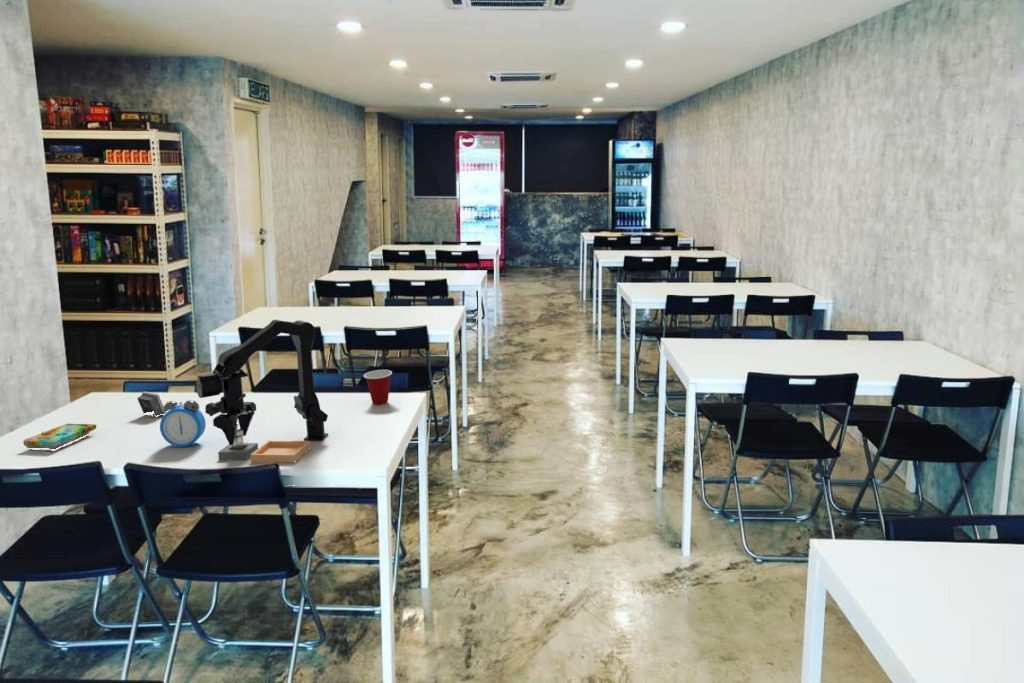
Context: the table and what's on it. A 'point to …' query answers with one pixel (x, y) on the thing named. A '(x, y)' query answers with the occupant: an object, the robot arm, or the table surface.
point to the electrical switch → (151, 403)
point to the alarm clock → (182, 423)
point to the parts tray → (280, 451)
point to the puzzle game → (59, 436)
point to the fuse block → (237, 452)
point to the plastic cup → (378, 385)
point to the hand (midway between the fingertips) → (237, 440)
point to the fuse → (238, 440)
